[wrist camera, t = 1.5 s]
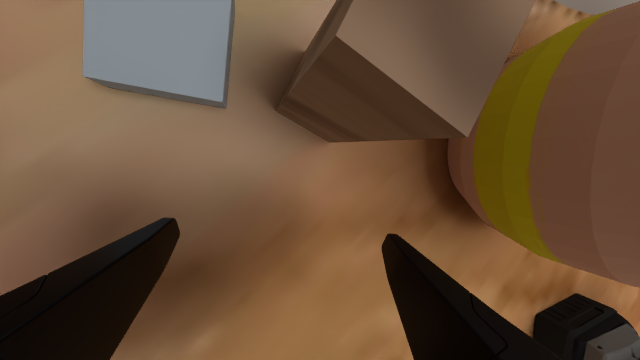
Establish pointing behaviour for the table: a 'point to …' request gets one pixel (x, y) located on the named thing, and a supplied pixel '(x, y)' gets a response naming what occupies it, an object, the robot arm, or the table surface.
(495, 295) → the table surface
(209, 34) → the plinth
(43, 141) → the table surface
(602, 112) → the vase
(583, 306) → the cordless drill
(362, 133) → the post
